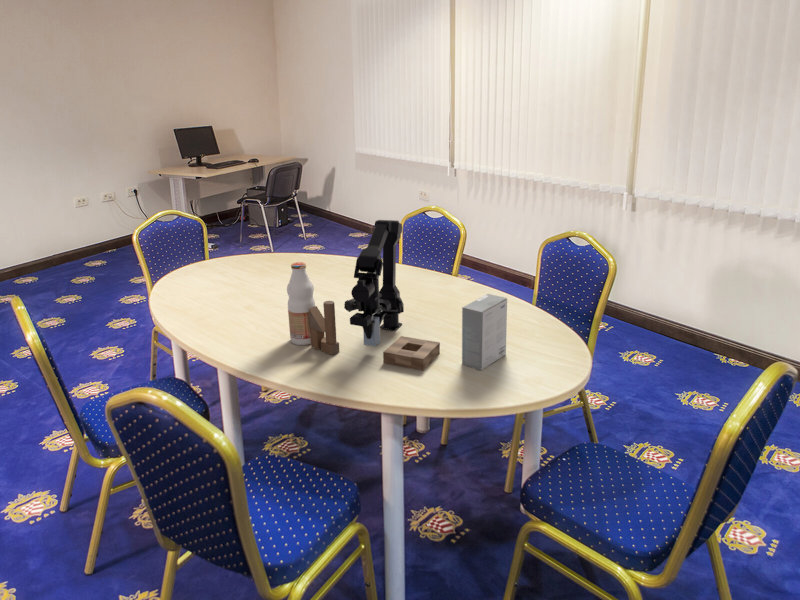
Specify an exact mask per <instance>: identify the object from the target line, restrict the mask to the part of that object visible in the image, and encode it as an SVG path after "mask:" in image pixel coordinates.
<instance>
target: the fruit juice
mask: <svg viewBox="0 0 800 600" xmlns="http://www.w3.org/2000/svg"><path fill="white" fill-rule="evenodd" d="M290 267H291V271H292V272H291V273H290V274H291V275H290V279H289V282H288V284H287V285H286V292H287V295H288V300H287V313H288V326H289V327H288V329H289V338H290V341H291V343H292V344H294V345H297V346H306V345H308V346H309V345H311V336H310V323H309V308H312V307H315V306H316V300H315V298H314V289H315V287H314V283H312V281H311V279H310V277H309V275H308V273H307V271H306V268H307V264H306V263H305V262H303V261H302V262H301V261H300V262H299V261H298V262H292V263H291V264H290Z"/></svg>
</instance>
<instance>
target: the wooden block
mask: <svg viewBox="0 0 800 600" xmlns="http://www.w3.org/2000/svg"><path fill="white" fill-rule="evenodd" d="M322 306H323V314H322V312H321V311H320V309H319V307H318V306H317V305H315V307H312V308H309V323H310V336H311V344H310V346H311V348H313V349H316V350H320V349H321V350H320V351H321V352H323V353H326V354H329V355H331V356H333V355H335V354H338V353H340V342H338V341H337V328H336V327H337V325H336V324H337V323H336V309H335V302H334V300H326V301H325V300H324V301H323V305H322Z"/></svg>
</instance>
